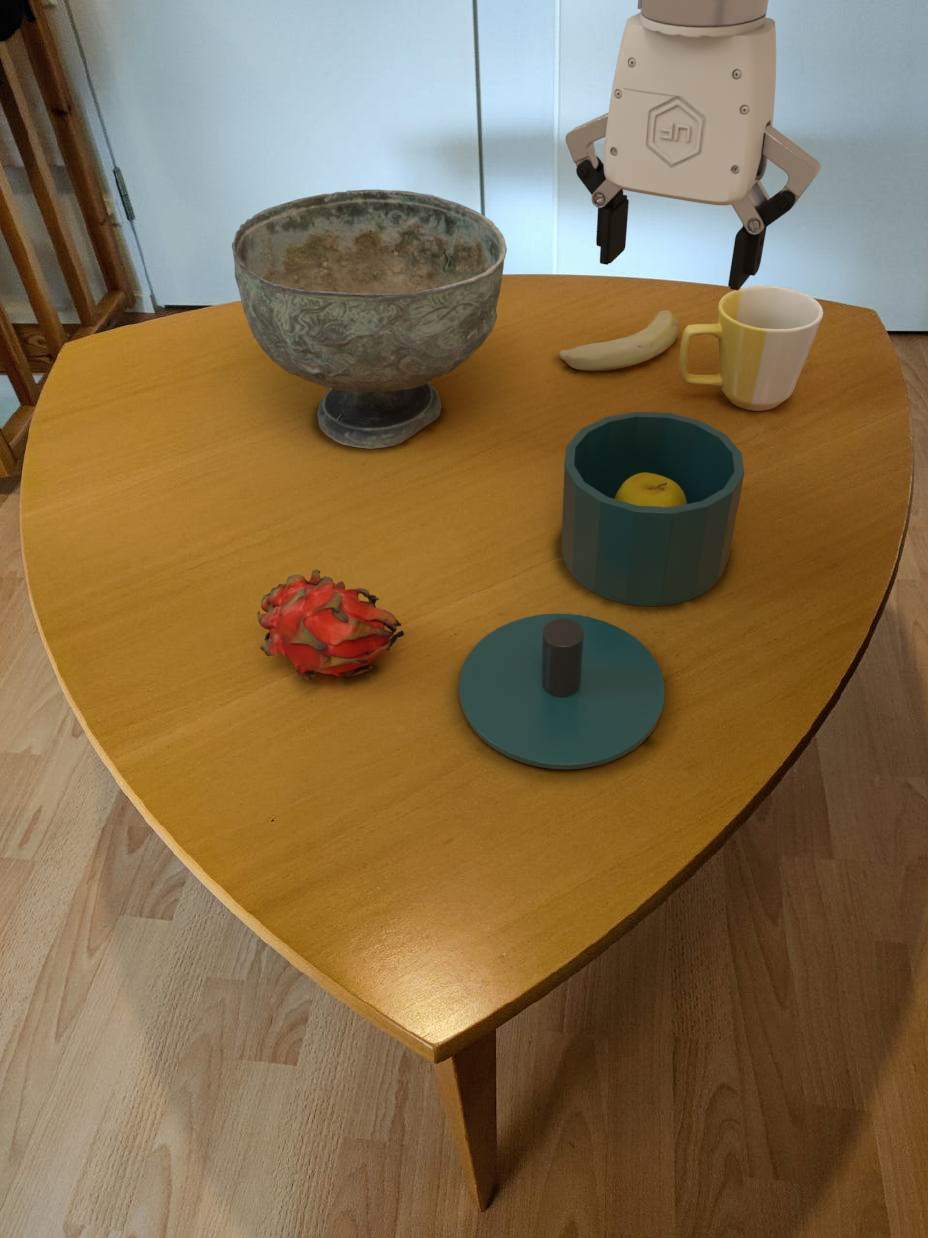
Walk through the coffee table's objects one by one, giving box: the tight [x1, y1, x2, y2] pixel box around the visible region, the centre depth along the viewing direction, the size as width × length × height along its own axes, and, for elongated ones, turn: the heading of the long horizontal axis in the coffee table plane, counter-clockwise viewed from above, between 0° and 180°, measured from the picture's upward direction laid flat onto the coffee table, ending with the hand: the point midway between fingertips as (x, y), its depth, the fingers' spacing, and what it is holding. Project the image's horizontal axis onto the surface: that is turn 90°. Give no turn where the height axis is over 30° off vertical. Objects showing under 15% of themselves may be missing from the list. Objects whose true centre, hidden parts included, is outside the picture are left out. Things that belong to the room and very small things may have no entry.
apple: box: [615, 472, 687, 507], centre depth 86 cm, size 6×6×8 cm
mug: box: [678, 285, 824, 412], centre depth 104 cm, size 14×10×10 cm
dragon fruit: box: [256, 569, 405, 682], centre depth 79 cm, size 8×8×12 cm
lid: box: [458, 613, 666, 770], centre depth 75 cm, size 16×16×7 cm
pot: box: [560, 411, 745, 607], centre depth 86 cm, size 15×15×10 cm
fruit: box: [558, 309, 680, 372], centre depth 114 cm, size 7×15×3 cm, turn 118°
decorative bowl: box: [231, 189, 508, 450], centre depth 102 cm, size 26×26×20 cm
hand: (674, 269), depth 72 cm, fingers open, 9 cm apart
